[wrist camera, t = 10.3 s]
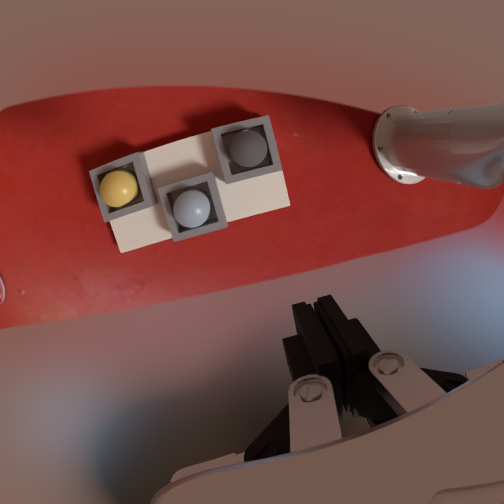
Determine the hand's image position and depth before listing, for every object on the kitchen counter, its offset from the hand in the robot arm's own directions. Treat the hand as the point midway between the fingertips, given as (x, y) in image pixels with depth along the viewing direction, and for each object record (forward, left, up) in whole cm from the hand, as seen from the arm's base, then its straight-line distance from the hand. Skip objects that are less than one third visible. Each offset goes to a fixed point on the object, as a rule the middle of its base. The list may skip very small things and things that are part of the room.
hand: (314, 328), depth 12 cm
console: (+7, -5, -30) cm, 31 cm away
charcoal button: (-1, -8, -27) cm, 28 cm away
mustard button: (+15, -8, -27) cm, 32 cm away
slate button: (+7, -3, -27) cm, 28 cm away
